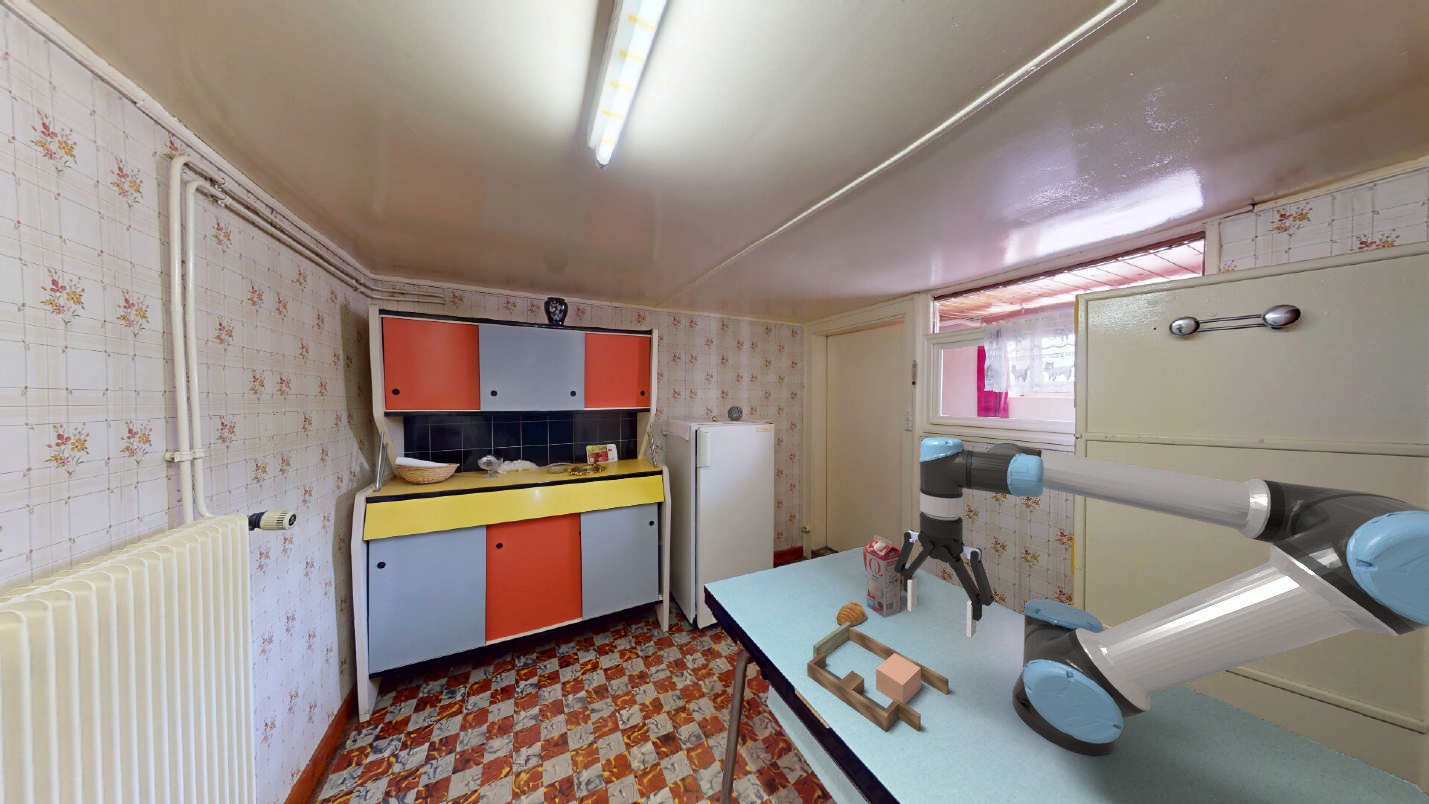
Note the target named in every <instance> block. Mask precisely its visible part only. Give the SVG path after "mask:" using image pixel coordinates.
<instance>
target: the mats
mask: <svg viewBox="0 0 1429 804" xmlns="http://www.w3.org/2000/svg"><path fill="white" fill-rule="evenodd" d="M821 669H822V670H823V671H825V672H826V673H828V674H829V675H831V676H832V677H834V678H835V679H837V680H838V681H841V680H842V679H843V678H841V677H839V676H838V675H836V674H835V673H834V672H832V671H830V670H829V669H828V668H827V667H826V666H825V667H823V668H821ZM860 696H862V697H863V698H865V699H866V700H868V701H869V702H871V703H872V704H874V705H875V706H877V707H878V708H880V709H881V710H883V711H884V710H885V709H886V708H887V707H885V706H884V705H882V704H880V703H878V702H877V701H875V700H874V699H873V698H871V697H870V696H868V695H867V694H865V693H864V692H863V693H861V694H860Z"/></svg>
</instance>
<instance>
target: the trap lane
mask: <svg viewBox="0 0 1429 804" xmlns="http://www.w3.org/2000/svg"><path fill="white" fill-rule="evenodd" d="M848 640H849V641H851V642H853V643H855V645H858V646H860V647H862V648H863V649H865V650H867V651H869V652H870V653H872V654H874V655H876V656H877V657H880V658H881V659H883V660H884V661H886V660H887V659H888V658H889V657H890V656H892V655H893V654H894V653H895V654H897V655H899V656H901V657H902V658H904V659H906V660H908V661H910V662H911V663H913V664H915V665H917V666H918V667H920V668H921V681H922V682H923V683H926V684H927V685H929V686H930V687H932V688H934V689H936V690H938V691H939V692H941V693H943V694H945V695H948V694H949V688H950V687H949V678H947V677H946V676H943V675H942V674H940V673H937V672H936V671H934V670H932V669H930V668H928V667H927V666H925V665H923V664H921V663H919V662H918V661H915V660H914V659H912V658H910V657H908V656H907V655H904V654H903V653H900V652H899V651H897V650H895V649H893V648H891V647H890V646H887V645H885V644H884V643H882V642H880V641H878V640H876V639H874V638H873V637H871V636H869V635H867V634H865V633H863V632H861V631H859V630H858V629H856V628H854V627H853V626H851V623H849V622H846V623H844V624H843V625H841V624H840V626H838V627H837V628H836V629H835V630H833V631H832V632H830V633H829V634H827V635H826V636H824V637H823V638H821V639H820V640H818V641H817V642H816V643H815V644H813V646H812V647H813V648H812V649H813V651H812V652H813V653H812V655H813V656H812V659H811V660H809V661H808V662H807V663H806V666H807V667H806V669H807V670H806V675H807V676H808V677H809V678H810V679H811V680H813V681H814V682H816V683H817V684H819V685H820V686H821V687H822V688H824V689H825V690H827V692H829V693H831V694H832V695H834V696H835V697H836V698H838V700H841V701H842V702H844V703H845V704H846V705H847V706H849V707H850V708H852V709H853V710H855V711H856V712H857V713H859V715H862V716H863V717H865V718H866V719H868V720H869V722H871V723H872V724H874V725H875V726H876V727H878V728H880V729H881V730H882V731H883V732H885V733H887V732H888V730H889V729H890V728H891V727H892V726H893V724H894V723H895V722H896V721H897V720H898V719H899V720H900V721H902V722H903V723H904V724H907V725H908V726H910V727H912V728H913V729H914V730H916V731H917V732H919V731H920V730H921V727H922V726H921V724H922V723H921V721H922V719H921V718H922V717H921V713H920V712H919V711H917V710H915V709H914V708H913V707H910V706H909V705H907V703H906V704H904V703H903V702H901V701H899V700H898V699H896V698H895V699H894V700H891V701H892V702H890V703H889V705H888V706H886V707H885V708H886V709H885V710H884V711H883V710H881V709H880V708H878V707H877V706H875V705H874V704H872V703H871V702H869V701H868V700H866V699H865V698H863V697H862V696H860V694H861V693H864V692H865V677H863V676H861V675H859V674H858V673H857V672H855V671H853V670H851V671H850V672H848V673H847V674H846V675H845V676H844V677H842V678H841V679H842V680H841V681H838V680H837V679H835V678H834V677H832V676H831V675H829V674H828V673H826V672H825V671H823V670H822V669H821V668H823V667H825V668H826V666H827V656H828V655H830V654H831V653H832V652H834V651H835V650H836V649H838V648H839V647H840V646H841V645H843V644H844V643H846V642H847V641H848Z"/></svg>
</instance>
